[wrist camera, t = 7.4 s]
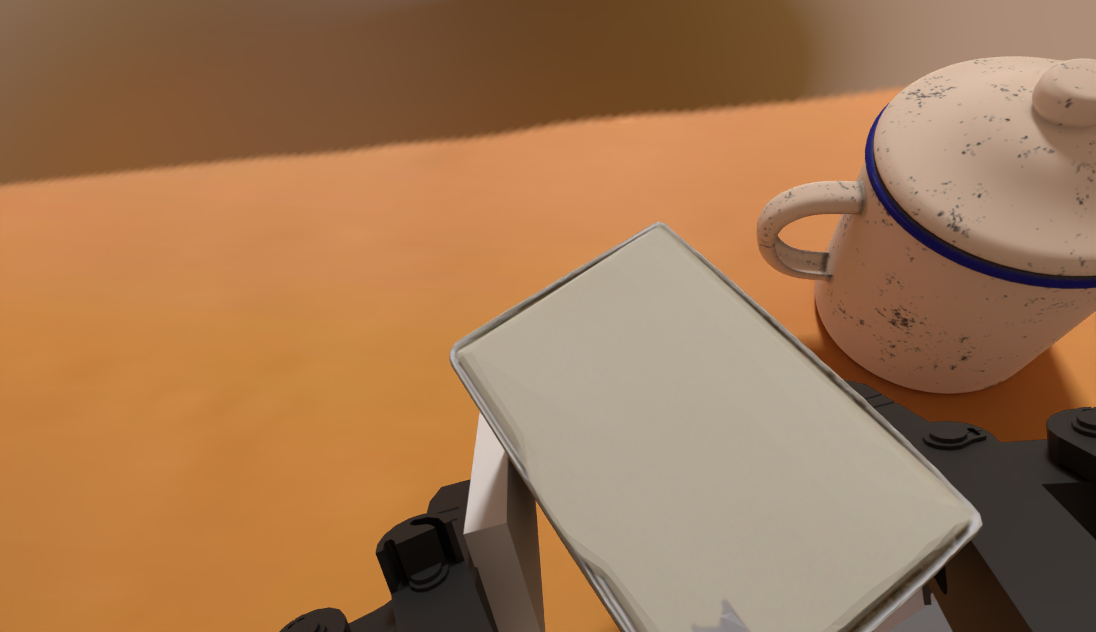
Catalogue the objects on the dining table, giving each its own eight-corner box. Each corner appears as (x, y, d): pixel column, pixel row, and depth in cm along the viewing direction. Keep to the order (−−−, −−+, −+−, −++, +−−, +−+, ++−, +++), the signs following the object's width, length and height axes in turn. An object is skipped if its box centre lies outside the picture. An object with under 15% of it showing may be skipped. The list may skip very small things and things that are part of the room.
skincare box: (790, 613, 17) (1034, 543, 7) (671, 712, 16) (732, 810, 6) (650, 439, 20) (663, 201, 10) (545, 514, 19) (435, 344, 9)
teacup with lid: (1009, 224, 27) (1222, -34, 17) (1070, 411, 22) (1406, 211, 12) (736, 221, 29) (783, -7, 19) (742, 390, 25) (806, 208, 15)
